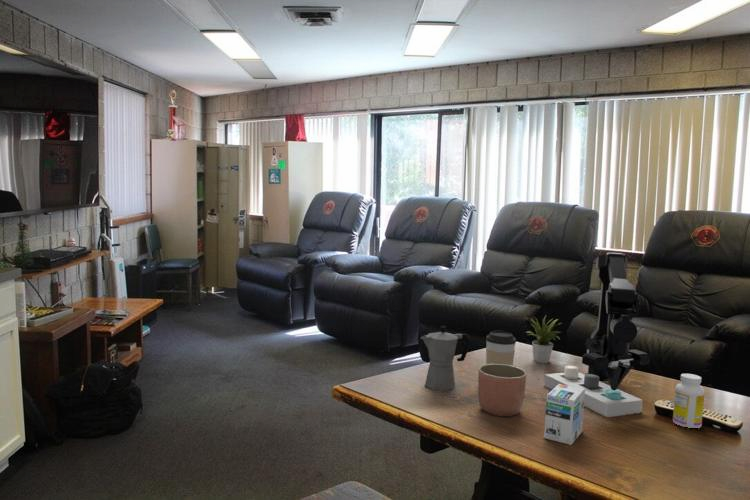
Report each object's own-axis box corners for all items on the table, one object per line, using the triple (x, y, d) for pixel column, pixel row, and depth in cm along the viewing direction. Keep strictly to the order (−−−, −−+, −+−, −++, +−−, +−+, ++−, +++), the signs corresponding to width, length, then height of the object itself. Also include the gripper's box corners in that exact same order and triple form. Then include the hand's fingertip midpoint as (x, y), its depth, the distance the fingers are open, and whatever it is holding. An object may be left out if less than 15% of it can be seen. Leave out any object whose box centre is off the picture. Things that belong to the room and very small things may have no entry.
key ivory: (571, 378, 183) (572, 365, 182) (580, 382, 179) (581, 369, 178) (560, 379, 181) (561, 366, 181) (569, 383, 177) (570, 370, 177)
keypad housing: (576, 382, 187) (576, 371, 186) (641, 412, 163) (642, 400, 162) (544, 385, 182) (545, 374, 182) (606, 417, 158) (607, 404, 158)
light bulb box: (571, 446, 139) (575, 400, 138) (542, 438, 143) (545, 394, 142) (582, 431, 148) (586, 388, 147) (555, 424, 152) (558, 383, 151)
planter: (472, 414, 156) (474, 373, 155) (480, 399, 168) (483, 361, 167) (521, 422, 152) (523, 380, 151) (526, 406, 164) (529, 367, 162)
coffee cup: (516, 386, 181) (519, 337, 179) (485, 384, 181) (489, 335, 179) (510, 376, 190) (513, 329, 188) (481, 375, 190) (484, 328, 188)
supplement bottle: (698, 422, 157) (703, 374, 156) (703, 431, 151) (708, 381, 150) (670, 418, 160) (675, 370, 158) (674, 427, 153) (678, 378, 152)
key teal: (612, 402, 167) (613, 388, 167) (623, 407, 163) (624, 393, 163) (601, 404, 166) (602, 390, 165) (611, 409, 162) (613, 394, 162)
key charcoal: (591, 387, 175) (592, 373, 174) (601, 391, 171) (602, 377, 171) (580, 388, 173) (581, 374, 173) (590, 392, 170) (591, 379, 169)
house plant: (518, 364, 203) (521, 317, 202) (515, 353, 217) (518, 309, 215) (562, 368, 201) (565, 320, 199) (556, 357, 215) (559, 312, 213)
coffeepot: (422, 391, 172) (426, 330, 170) (414, 381, 181) (417, 322, 179) (474, 390, 175) (477, 329, 173) (463, 380, 184) (466, 322, 183)
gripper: (622, 325, 173) (618, 377, 175) (570, 328, 166) (566, 383, 168) (653, 334, 163) (648, 390, 165) (599, 338, 156) (594, 396, 158)
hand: (613, 389), depth 164 cm, fingers closed
